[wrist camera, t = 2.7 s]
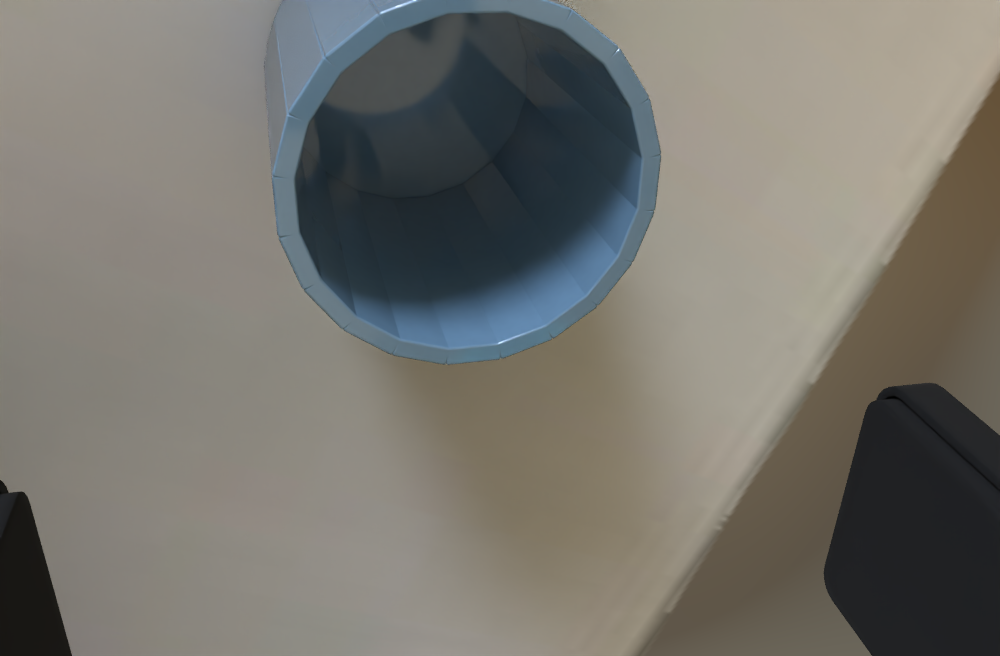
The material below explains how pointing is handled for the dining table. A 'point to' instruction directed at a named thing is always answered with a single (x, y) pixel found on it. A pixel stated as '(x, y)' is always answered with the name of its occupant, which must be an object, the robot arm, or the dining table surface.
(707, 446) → the dining table surface
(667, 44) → the dining table surface
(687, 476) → the dining table surface
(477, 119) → the blue mug
